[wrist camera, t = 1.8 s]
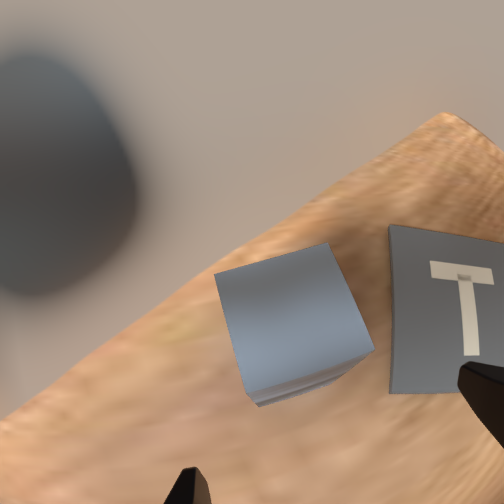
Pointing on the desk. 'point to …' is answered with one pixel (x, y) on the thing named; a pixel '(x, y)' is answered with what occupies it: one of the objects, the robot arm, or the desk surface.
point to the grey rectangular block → (292, 323)
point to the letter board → (443, 308)
